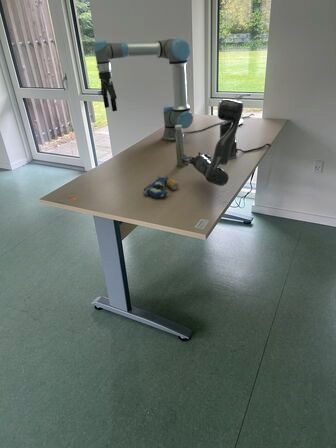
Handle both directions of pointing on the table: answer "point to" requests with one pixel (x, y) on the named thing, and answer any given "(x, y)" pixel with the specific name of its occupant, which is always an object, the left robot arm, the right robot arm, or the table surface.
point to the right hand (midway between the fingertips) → (191, 155)
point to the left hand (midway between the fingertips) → (110, 109)
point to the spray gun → (160, 183)
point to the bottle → (179, 147)
